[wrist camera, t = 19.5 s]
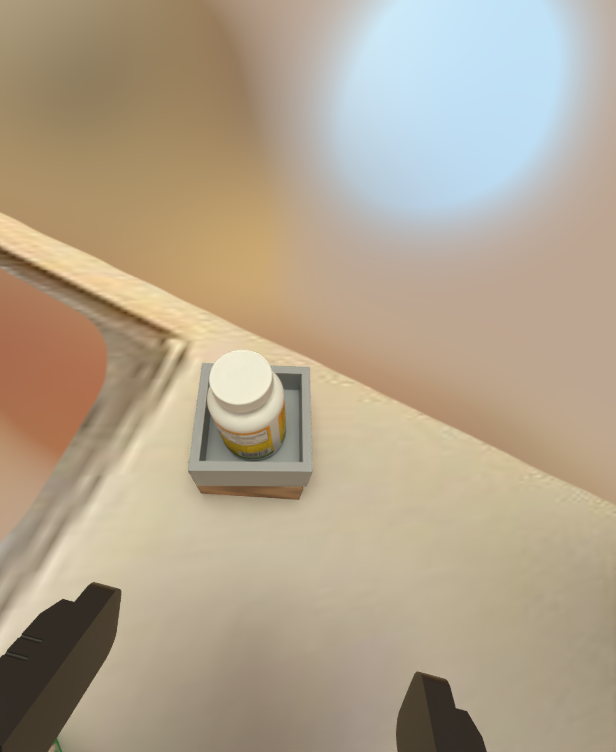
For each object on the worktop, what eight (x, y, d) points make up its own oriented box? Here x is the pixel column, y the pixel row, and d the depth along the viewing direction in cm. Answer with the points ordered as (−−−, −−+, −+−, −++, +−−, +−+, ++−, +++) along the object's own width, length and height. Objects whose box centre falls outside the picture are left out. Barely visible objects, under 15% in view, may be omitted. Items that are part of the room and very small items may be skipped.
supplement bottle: (254, 475, 31) (238, 433, 23) (209, 433, 33) (178, 379, 24) (300, 428, 33) (300, 373, 25) (255, 390, 35) (241, 326, 26)
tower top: (304, 390, 37) (309, 366, 33) (306, 486, 33) (312, 471, 29) (208, 388, 36) (202, 363, 32) (196, 485, 32) (187, 470, 28)
